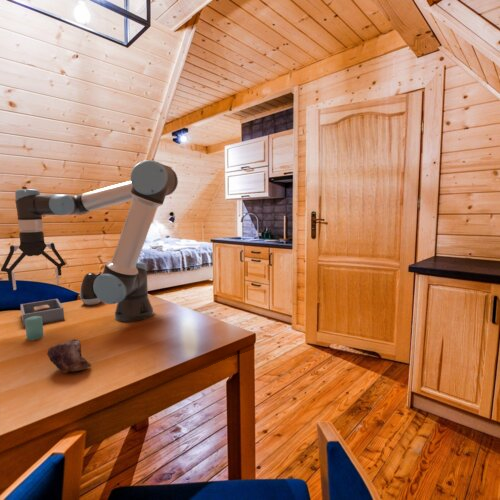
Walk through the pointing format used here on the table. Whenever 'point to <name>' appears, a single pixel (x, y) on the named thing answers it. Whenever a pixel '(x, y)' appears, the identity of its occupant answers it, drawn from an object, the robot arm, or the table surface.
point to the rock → (68, 356)
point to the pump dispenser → (89, 289)
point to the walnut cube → (41, 308)
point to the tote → (47, 316)
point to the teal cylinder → (34, 328)
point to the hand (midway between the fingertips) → (36, 286)
